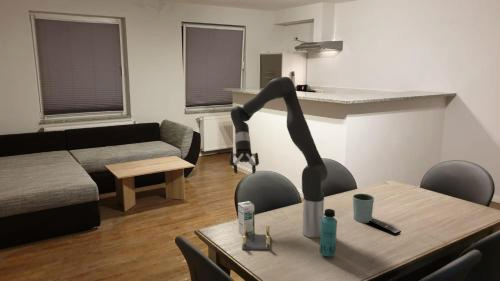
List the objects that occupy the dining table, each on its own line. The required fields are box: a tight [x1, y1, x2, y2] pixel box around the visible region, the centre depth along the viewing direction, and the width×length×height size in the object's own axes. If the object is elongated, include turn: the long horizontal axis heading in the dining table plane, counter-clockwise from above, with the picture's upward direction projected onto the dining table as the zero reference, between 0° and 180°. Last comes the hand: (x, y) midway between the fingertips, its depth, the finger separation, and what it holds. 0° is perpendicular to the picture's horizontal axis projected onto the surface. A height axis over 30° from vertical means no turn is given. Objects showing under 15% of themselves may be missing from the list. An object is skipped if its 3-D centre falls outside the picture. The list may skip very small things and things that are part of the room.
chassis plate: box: [241, 225, 271, 251], centre depth 162 cm, size 12×12×6 cm
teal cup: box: [352, 193, 375, 224], centre depth 186 cm, size 10×10×12 cm
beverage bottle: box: [319, 208, 338, 257], centre depth 150 cm, size 6×7×20 cm
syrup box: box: [237, 200, 255, 237], centre depth 171 cm, size 6×6×14 cm
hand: (245, 173), depth 179 cm, fingers open, 8 cm apart
